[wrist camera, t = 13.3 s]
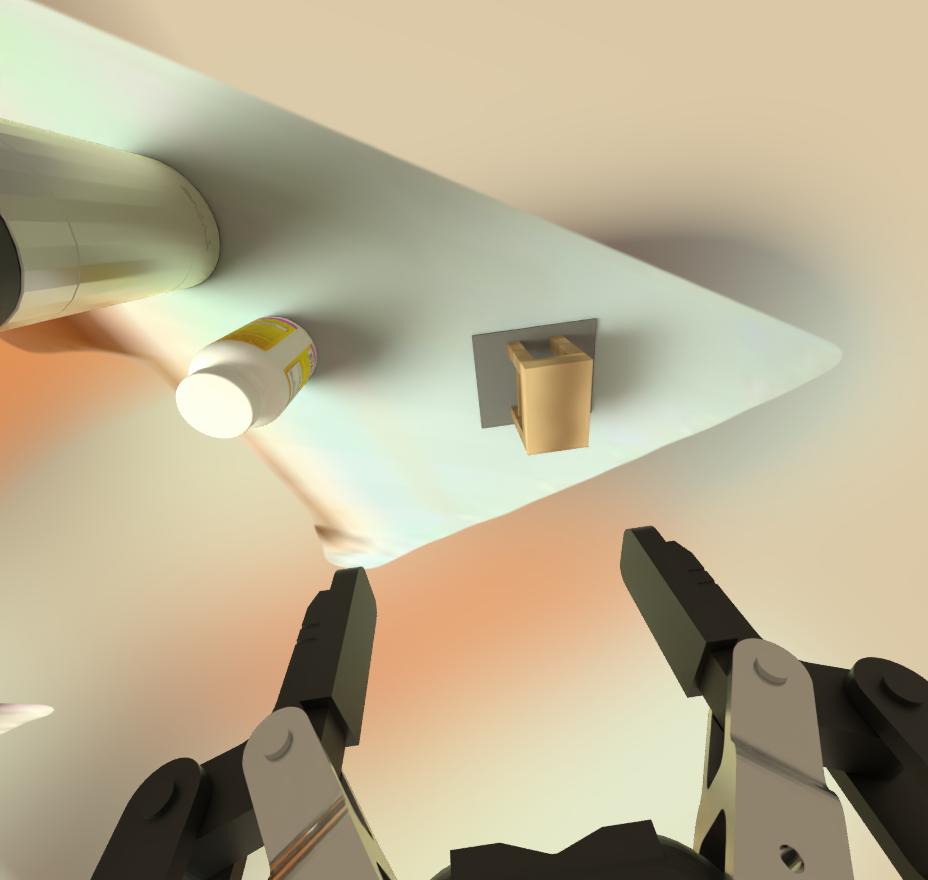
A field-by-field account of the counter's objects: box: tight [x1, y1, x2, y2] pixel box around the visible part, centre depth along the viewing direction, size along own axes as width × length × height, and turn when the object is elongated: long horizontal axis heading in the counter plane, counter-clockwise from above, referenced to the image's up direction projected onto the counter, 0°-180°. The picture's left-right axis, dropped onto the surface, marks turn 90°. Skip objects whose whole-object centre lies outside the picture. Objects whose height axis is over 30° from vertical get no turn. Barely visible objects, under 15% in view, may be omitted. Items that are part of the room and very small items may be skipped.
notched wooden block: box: [507, 335, 593, 455], centre depth 35 cm, size 5×8×8 cm
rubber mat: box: [472, 319, 596, 428], centre depth 38 cm, size 12×10×1 cm
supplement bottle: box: [176, 316, 317, 438], centre depth 30 cm, size 7×7×13 cm
